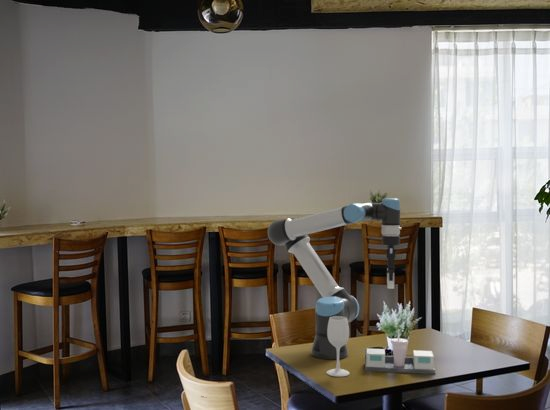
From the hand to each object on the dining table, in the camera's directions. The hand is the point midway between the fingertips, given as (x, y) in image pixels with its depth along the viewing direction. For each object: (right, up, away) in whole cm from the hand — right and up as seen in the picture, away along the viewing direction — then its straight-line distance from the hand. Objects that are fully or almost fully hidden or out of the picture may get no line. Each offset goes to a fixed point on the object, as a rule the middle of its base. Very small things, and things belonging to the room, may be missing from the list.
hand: (390, 286), depth 265 cm
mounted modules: (0, -28, -21) cm, 35 cm away
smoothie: (0, -28, -20) cm, 35 cm away
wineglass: (-25, -30, -26) cm, 47 cm away
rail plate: (0, -29, -20) cm, 36 cm away
